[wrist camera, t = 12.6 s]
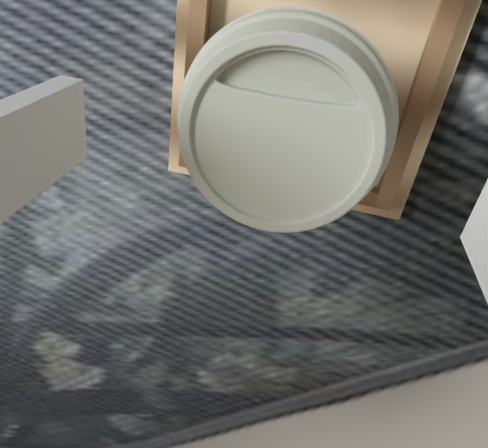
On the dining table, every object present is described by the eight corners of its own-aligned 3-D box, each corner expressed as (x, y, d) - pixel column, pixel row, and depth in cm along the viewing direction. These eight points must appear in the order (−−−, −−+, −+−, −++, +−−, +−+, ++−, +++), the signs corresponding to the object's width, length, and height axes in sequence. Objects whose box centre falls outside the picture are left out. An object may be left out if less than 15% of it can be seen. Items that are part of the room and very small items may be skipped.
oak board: (189, -112, 23) (177, -118, 22) (500, -65, 22) (513, -67, 20) (172, 164, 32) (163, 176, 30) (397, 212, 30) (400, 227, 29)
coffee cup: (413, 66, 25) (461, 137, 15) (307, 169, 29) (287, 280, 19) (299, -47, 23) (263, -56, 13) (205, 80, 27) (122, 149, 17)
